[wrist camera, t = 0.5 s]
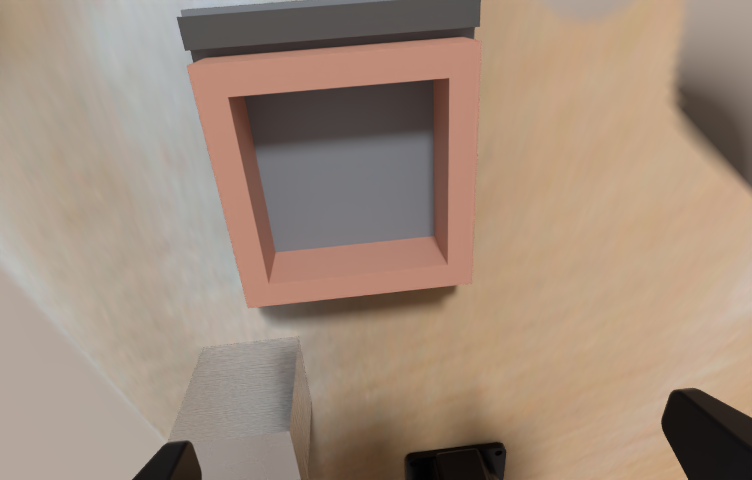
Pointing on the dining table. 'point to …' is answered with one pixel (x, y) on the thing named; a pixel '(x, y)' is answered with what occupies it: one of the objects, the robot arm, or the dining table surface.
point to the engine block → (248, 411)
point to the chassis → (341, 141)
